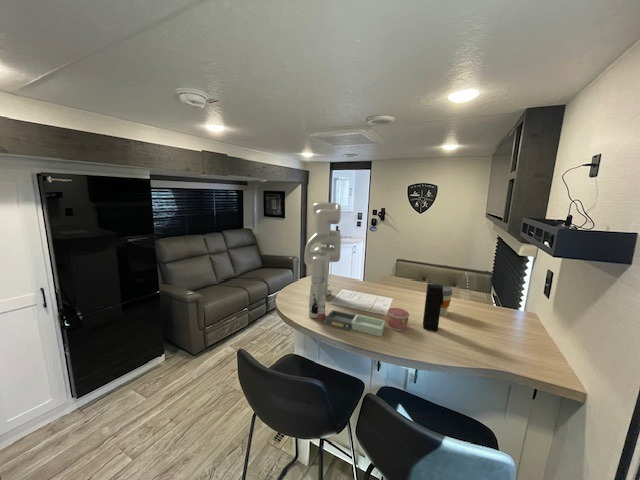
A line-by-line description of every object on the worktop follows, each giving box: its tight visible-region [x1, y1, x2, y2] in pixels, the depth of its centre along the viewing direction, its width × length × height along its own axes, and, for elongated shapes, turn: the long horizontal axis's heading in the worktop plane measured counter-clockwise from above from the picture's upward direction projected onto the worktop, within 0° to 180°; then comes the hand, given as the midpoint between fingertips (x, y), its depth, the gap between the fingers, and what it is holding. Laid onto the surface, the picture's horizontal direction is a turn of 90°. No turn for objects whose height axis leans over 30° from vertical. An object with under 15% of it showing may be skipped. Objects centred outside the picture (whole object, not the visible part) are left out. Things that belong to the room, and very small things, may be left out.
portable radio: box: [422, 280, 443, 332], centre depth 127 cm, size 8×6×25 cm
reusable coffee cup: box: [433, 283, 453, 316], centre depth 147 cm, size 12×13×15 cm
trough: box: [351, 314, 386, 337], centre depth 127 cm, size 10×15×4 cm, turn 66°
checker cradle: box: [323, 309, 356, 332], centre depth 132 cm, size 14×14×3 cm
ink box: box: [308, 295, 327, 319], centre depth 137 cm, size 9×5×12 cm, turn 84°
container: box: [386, 307, 410, 332], centre depth 128 cm, size 10×10×8 cm
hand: (317, 310), depth 137 cm, fingers closed on ink box, 6 cm apart
